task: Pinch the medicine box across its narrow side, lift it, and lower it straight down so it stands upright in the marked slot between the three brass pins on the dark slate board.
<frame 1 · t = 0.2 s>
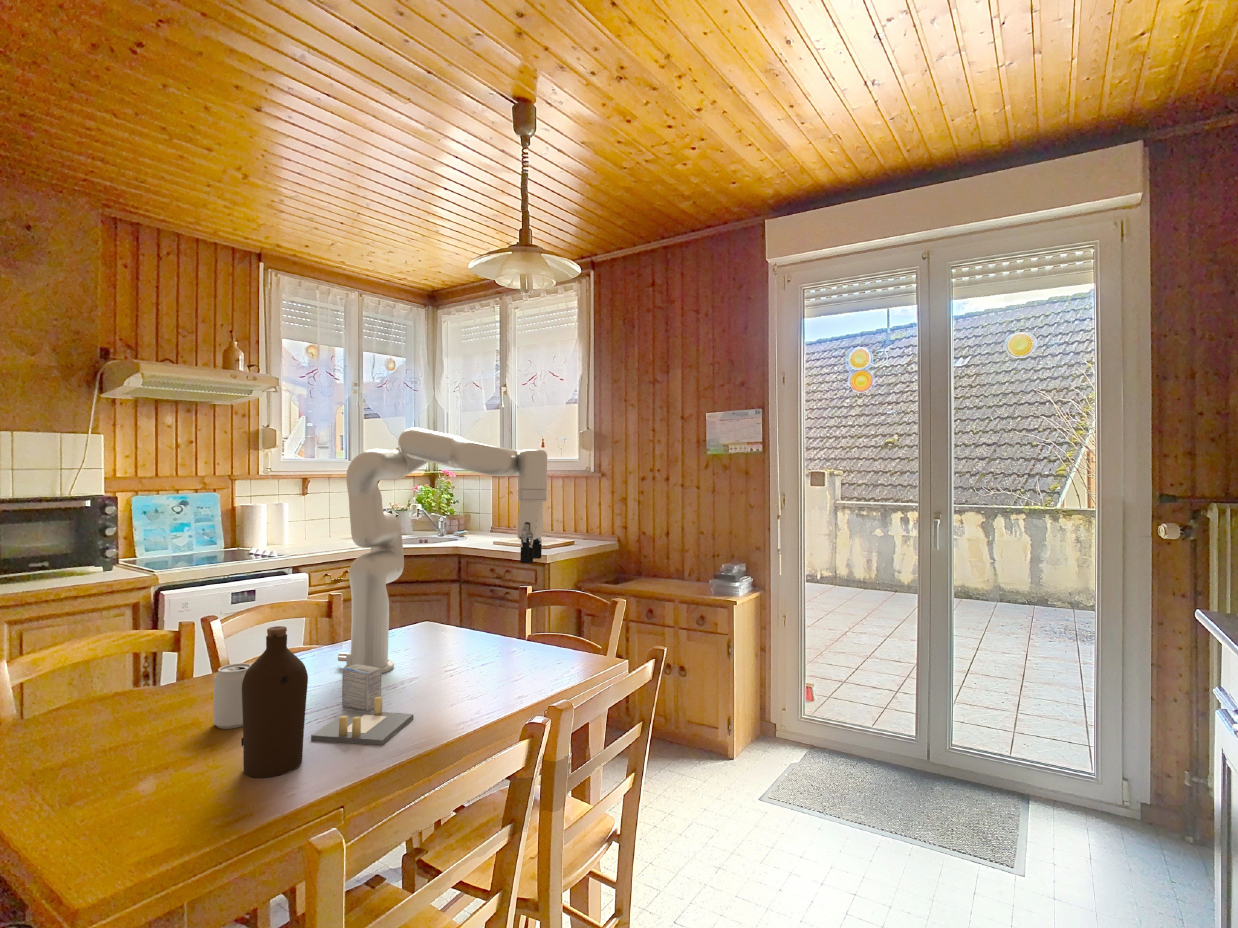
hand: (531, 560, 170), 31 cm above the table, tool pointing down, fingers open, 9 cm apart
pin board: (364, 728, 134), on the table
medicine box: (361, 706, 147), on the table
olive oil: (273, 766, 117), on the table
can: (233, 724, 136), on the table
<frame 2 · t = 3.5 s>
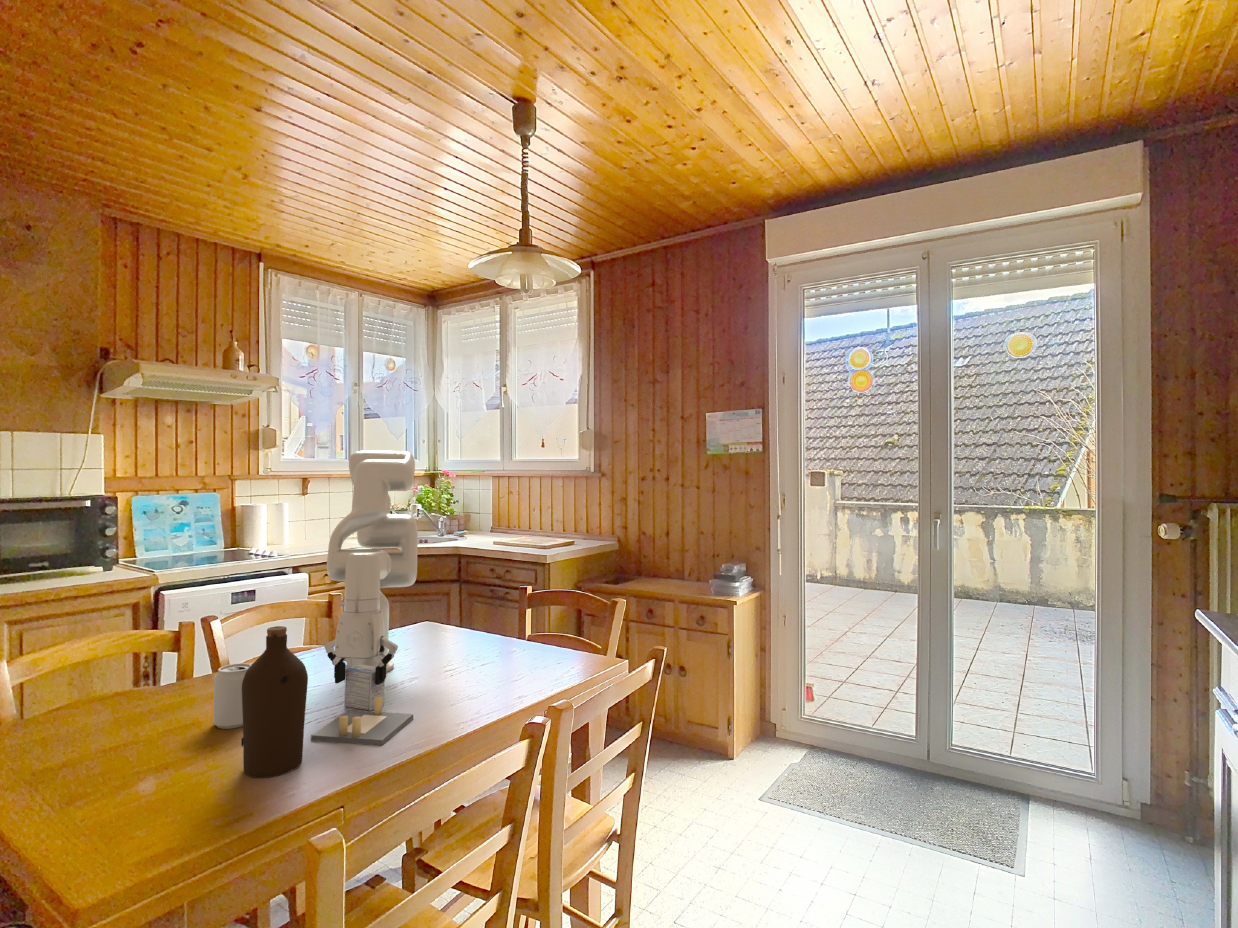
hand: (359, 682, 146), 6 cm above the table, tool pointing down, fingers open, 9 cm apart
nothing on the table moved.
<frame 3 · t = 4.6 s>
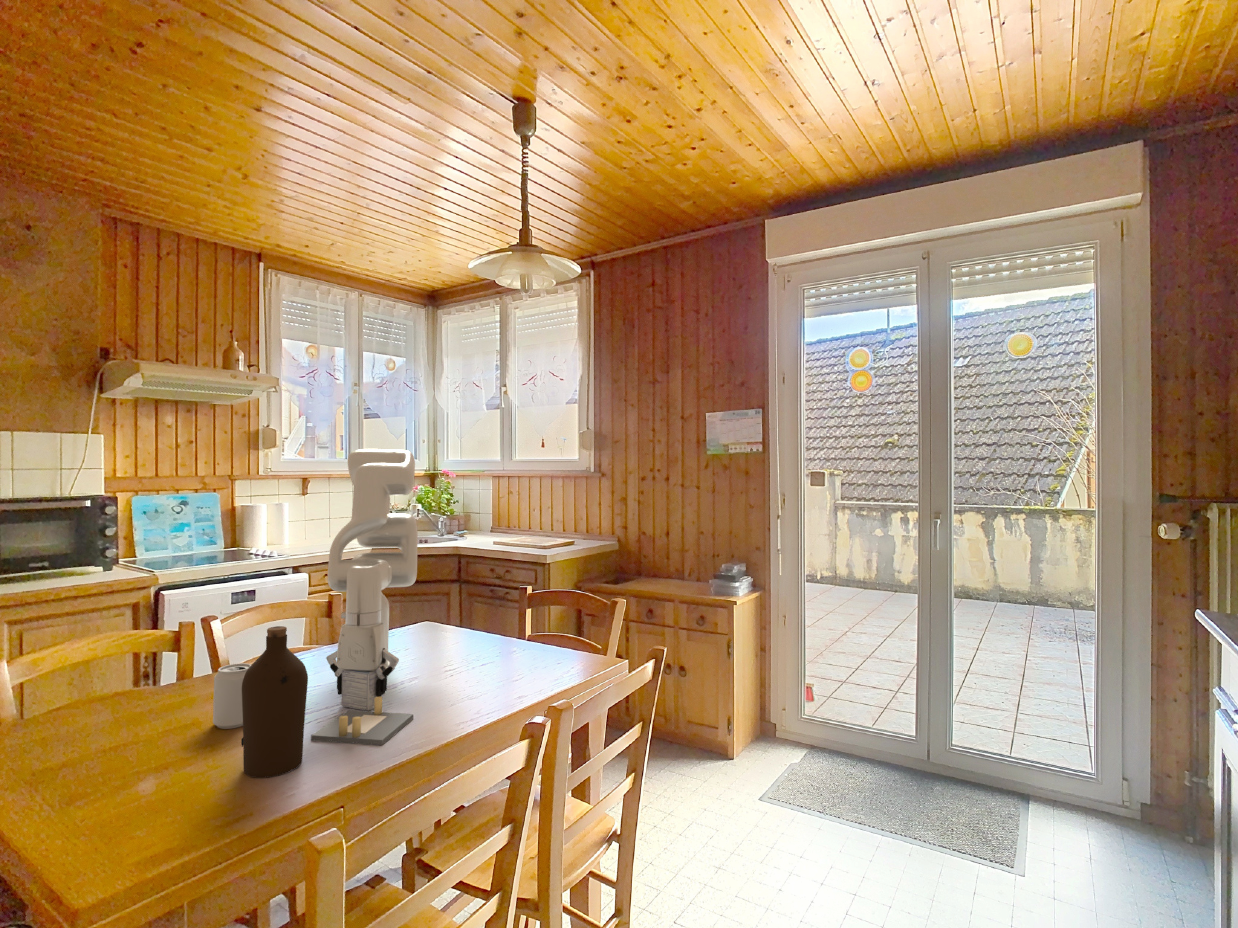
hand: (361, 693, 147), 3 cm above the table, tool pointing down, fingers closed on medicine box, 8 cm apart
medicine box: (361, 706, 147), on the table, touching gripper
everything else where it was.
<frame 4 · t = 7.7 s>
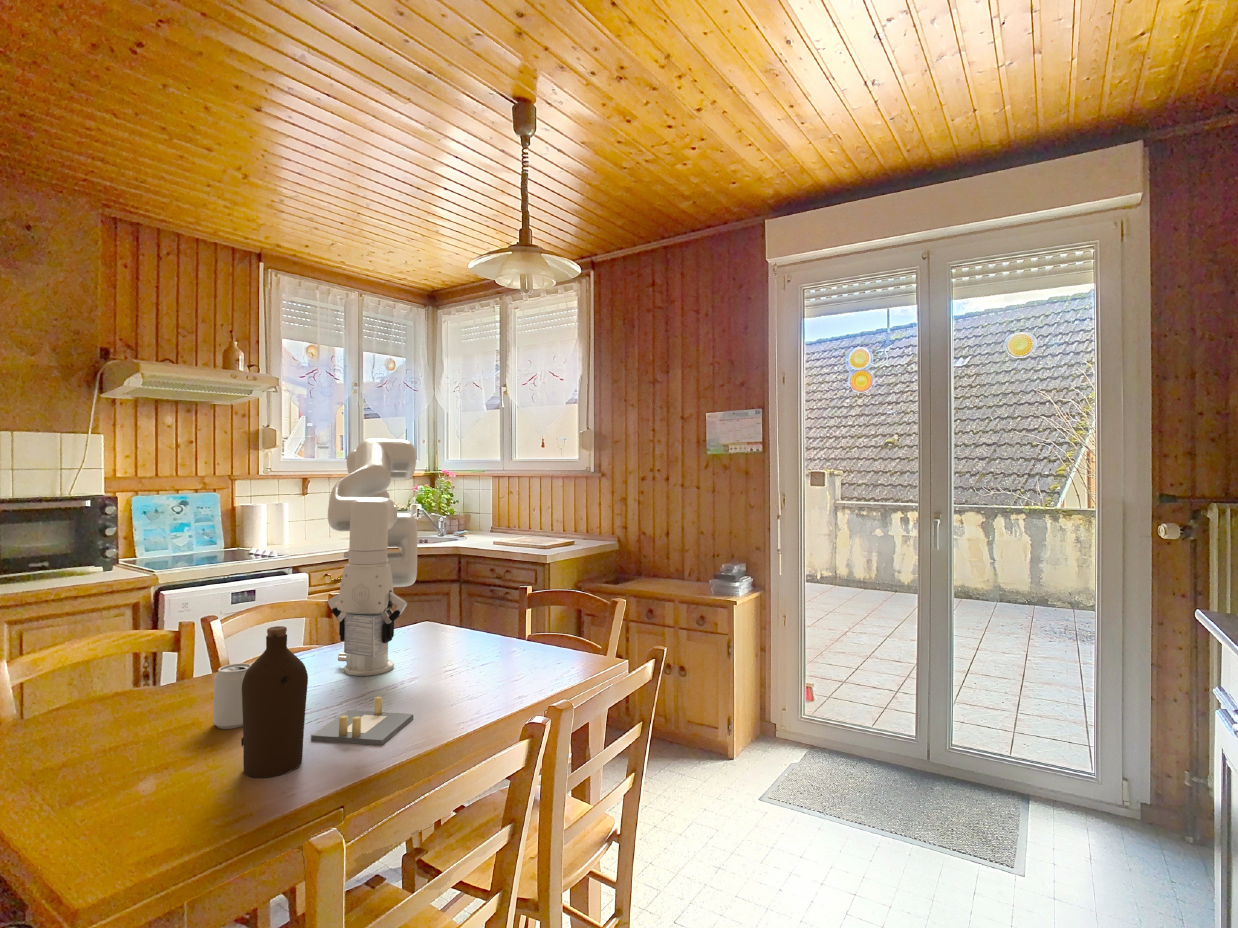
hand: (366, 640, 135), 18 cm above the table, tool pointing down, fingers closed on medicine box, 8 cm apart
medicine box: (365, 654, 135), point 15 cm above the table, touching gripper
everything else where it was.
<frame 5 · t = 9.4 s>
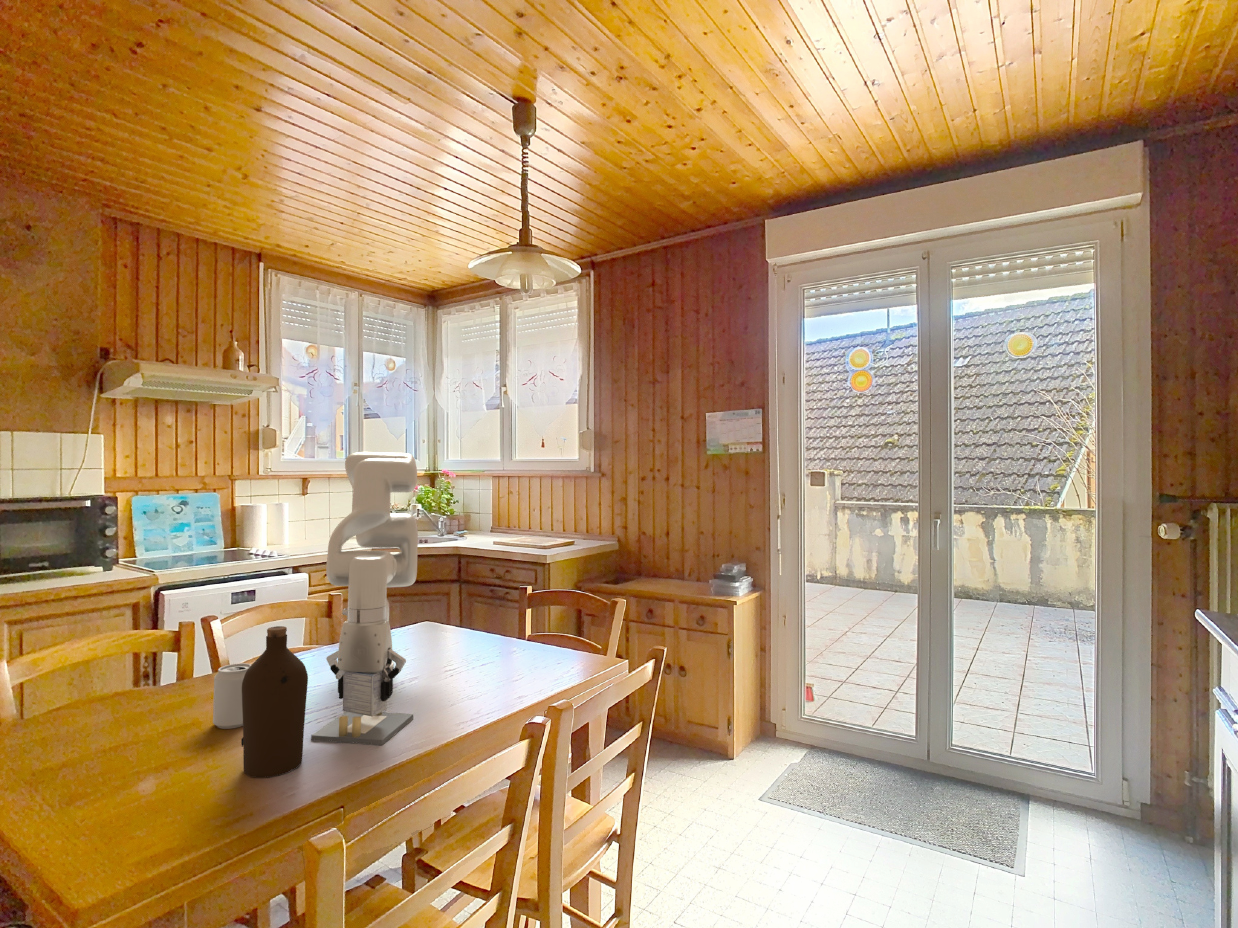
hand: (365, 697, 134), 6 cm above the table, tool pointing down, fingers closed on medicine box, 8 cm apart
medicine box: (364, 712, 134), point 4 cm above the table, touching gripper
everything else where it was.
when the fingers open (4 cm above the table, at t = 10.8 s): medicine box stays where it is, resting on pin board.
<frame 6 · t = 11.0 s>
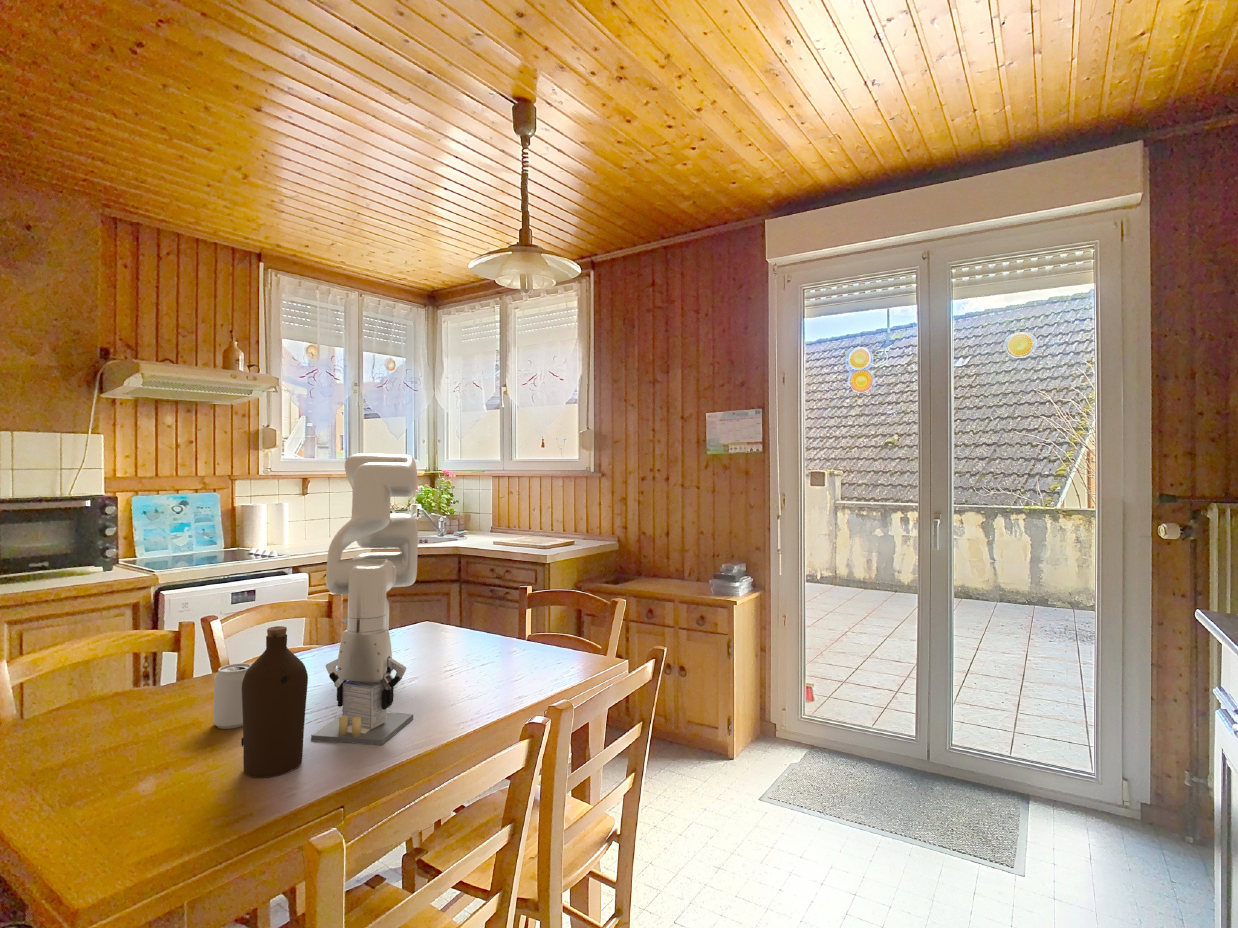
hand: (364, 705, 134), 5 cm above the table, tool pointing down, fingers open, 9 cm apart
medicine box: (364, 724, 134), point 1 cm above the table, touching pin board
everything else where it was.
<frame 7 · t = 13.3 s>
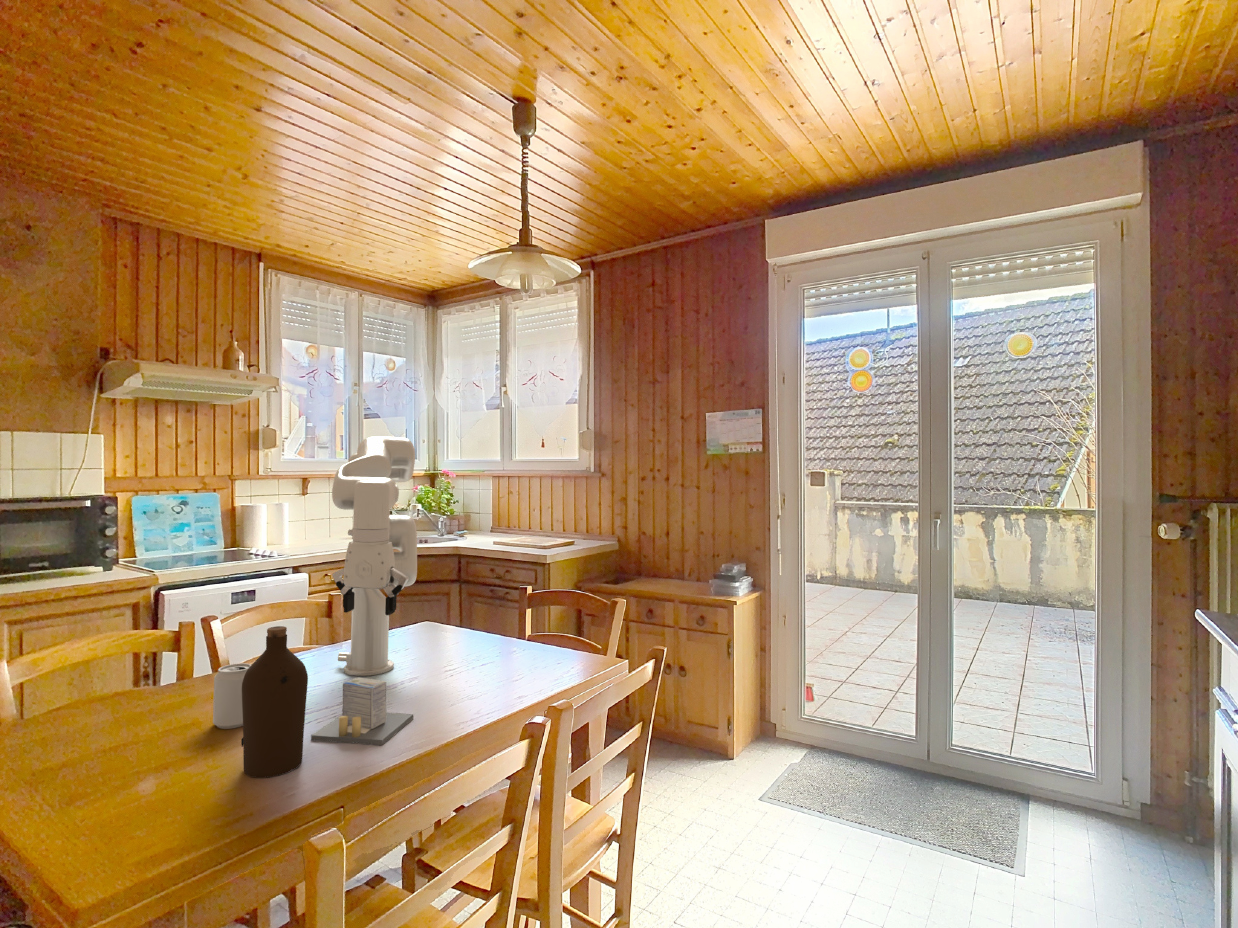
hand: (369, 612, 143), 23 cm above the table, tool pointing down, fingers open, 9 cm apart
nothing on the table moved.
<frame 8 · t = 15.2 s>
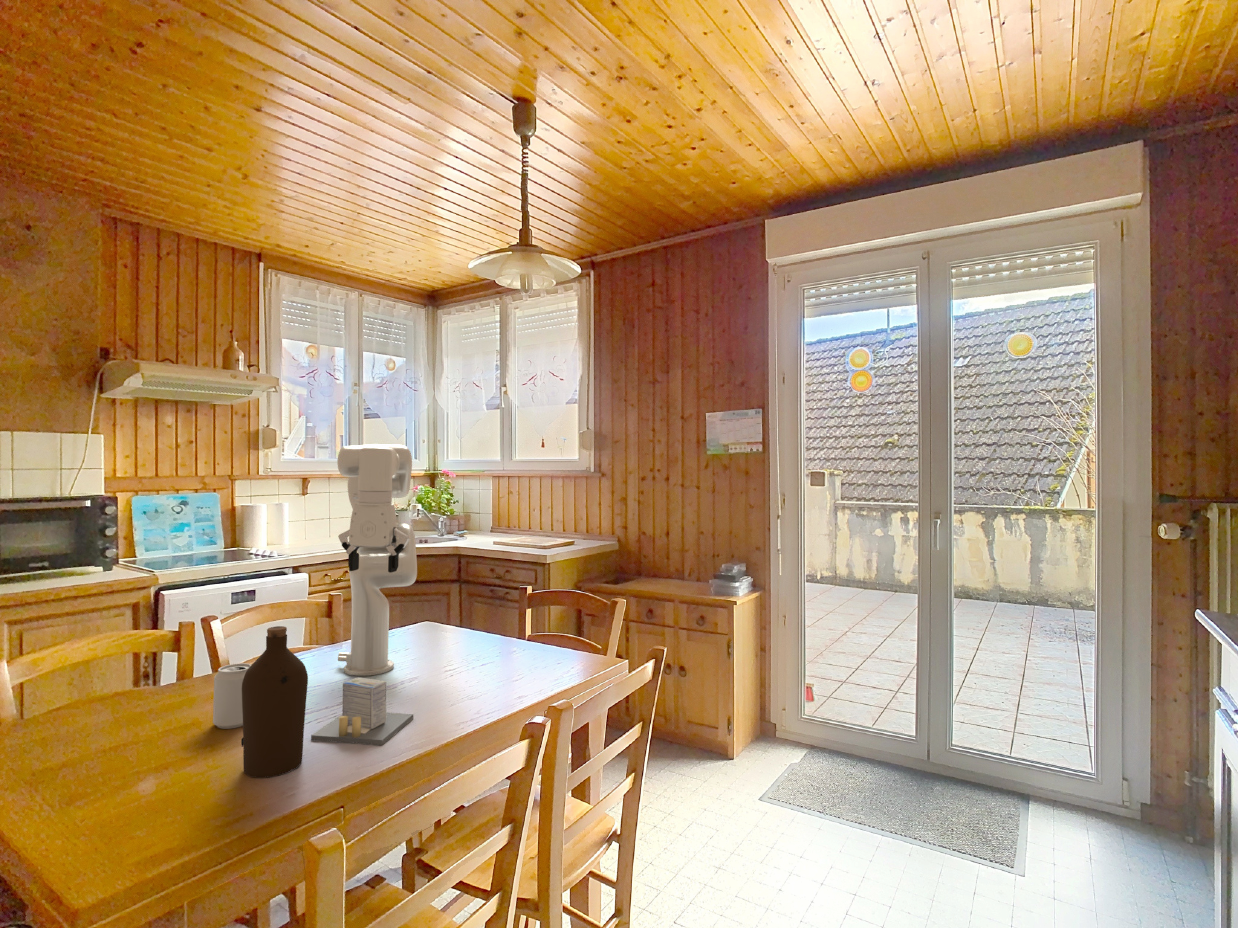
hand: (373, 570, 152), 30 cm above the table, tool pointing down, fingers open, 9 cm apart
nothing on the table moved.
at the end: medicine box 0.1 cm off-centre on the pin board, point 0.9 cm above the pin board's base; medicine box tilted 0°; the gripper is holding nothing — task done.
